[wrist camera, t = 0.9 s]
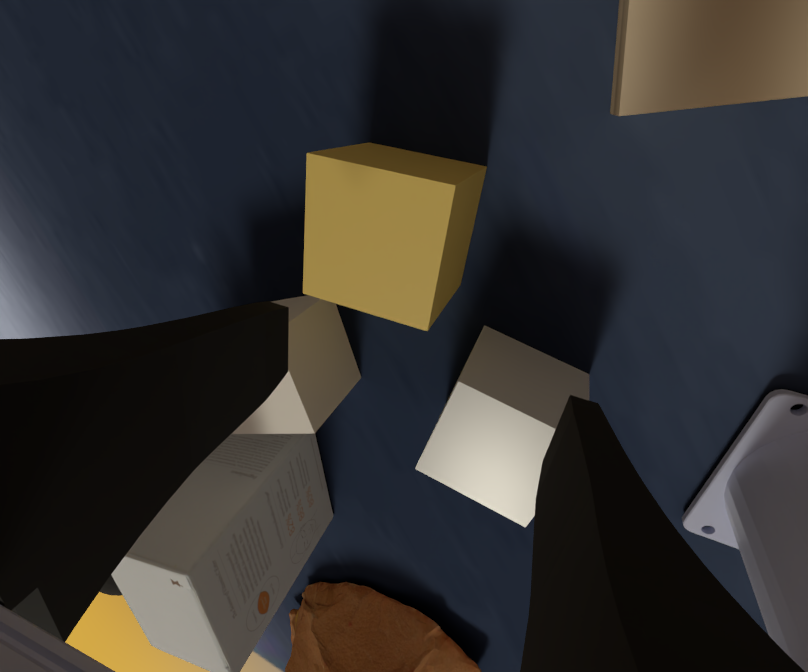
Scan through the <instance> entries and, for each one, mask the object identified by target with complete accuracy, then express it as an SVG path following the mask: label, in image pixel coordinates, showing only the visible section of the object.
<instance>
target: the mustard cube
mask: <svg viewBox="0 0 808 672" xmlns="http://www.w3.org/2000/svg"><path fill="white" fill-rule="evenodd" d="M486 168H487V167H486V166H482V165H477V164H472V163H467V162H462V161H457V160H452V159H447V158H443V157H438V156H433V155H428V154H423V153H418V152H413V151H409V150H404V149H399V148H394V147H389V146H384V145H379V144H374V143H370V142H369V143H363V144H357V145H351V146H345V147H339V148H333V149H327V150H321V151H315V152H309V153H307V165H306V199H305V233H304V268H303V294H306V295H310V296H313V297H316V298H319V299H323V300H326V301H329V302H333V303H336V304H339V305H343V306H346V307H349V308H352V309H356V310H359V311H362V312H366V313H369V314H372V315H375V316H379V317H382V318H385V319H389V320H392V321H395V322H398V323H402V324H405V325H408V326H412V327H415V328H418V329H422V330H425V331H428V330H429V328H430V327H431V326H432V324H433V323H434V321H435V320H436V318H437V317H438V316H439V314H440V313H441V311H442V310H443V309H444V307H445V306H446V304H447V303H448V301H449V300H450V299H451V297H452V296H453V294H454V293H455V292H456V290H457V289H458V287H459V286H460V285H461V280H462V276H463V271H464V267H465V262H466V258H467V253H468V249H469V244H470V240H471V235H472V231H473V226H474V222H475V218H476V213H477V209H478V204H479V200H480V195H481V191H482V186H483V182H484V177H485V173H486Z"/></svg>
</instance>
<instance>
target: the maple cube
mask: <svg viewBox="0 0 808 672" xmlns="http://www.w3.org/2000/svg"><path fill="white" fill-rule="evenodd" d="M803 96H808V0H619V12H618V25H617V37H616V49H615V61H614V73H613V86H612V98H611V110H610V114H613V115H617V116H625V115H635V114H644V113H653V112H663V111H672V110H681V109H691V108H700V107H710V106H719V105H728V104H738V103H747V102H756V101H766V100H775V99H785V98H794V97H803Z"/></svg>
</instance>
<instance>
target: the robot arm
mask: <svg viewBox="0 0 808 672" xmlns="http://www.w3.org/2000/svg"><path fill="white" fill-rule="evenodd" d="M288 335H289V307H286V306H283V305H280V304H276V303H273V302H270V301H266V302H258V303H252V304H247V305H242V306H237V307H232V308H228V309H224V310H219V311H215V312H210V313H206V314H202V315H197V316H193V317H188V318H184V319H179V320H174V321H168V322H163V323H158V324H153V325H148V326H143V327H137V328H131V329H124V330H118V331H110V332H102V333H94V334H84V335H72V336H58V337H44V338H29V339H0V672H115V671H113V670H111V669H110V668H108V667H106V666H104V665H103V664H101V663H99V662H98V661H96V660H94V659H92V658H91V657H89V656H87V655H86V654H84V653H82V652H80V651H79V650H77V649H75V648H74V647H72V646H70V645H69V644H66V643H65V641H66V640H67V638H68V636H69V635H70V633H71V632H72V630H73V629H74V627H75V626H76V624H77V623H78V621H79V620H80V619H81V617H82V616H83V614H84V613H85V611H86V610H87V608H88V607H89V606H90V604H91V602H92V601H93V600H94V598H95V597H96V595H97V594H98V593H99V591H100V590H101V588H102V587H103V585H104V584H105V582H106V581H107V580H108V578H109V577H110V575H111V574H112V573H113V571H114V570H115V569H116V567H117V566H118V565H119V563H120V562H121V561H122V559H123V558H124V557H125V555H126V554H127V553H128V551H129V550H130V549H131V547H132V546H133V545H134V543H135V542H136V541H137V539H138V538H139V537H140V535H141V534H142V533H143V531H144V530H145V529H146V528H147V526H148V525H149V524H150V523H151V521H152V520H153V519H154V518H155V516H156V515H157V514H158V513H159V511H160V510H161V509H162V508H163V506H164V505H165V504H166V503H167V502H168V500H169V499H170V498H171V497H172V496H173V494H174V493H175V492H176V491H177V490H178V489H179V487H180V486H181V485H182V484H183V483H184V482H185V480H186V479H187V478H188V477H189V476H190V474H191V473H192V472H193V471H194V470H195V469H196V468H197V467H198V466H199V465H200V464H201V463H202V462H203V461H204V460H205V459H206V458H207V457H208V456H209V455H210V454H211V453H212V452H213V451H214V450H215V449H216V448H217V447H218V446H219V445H220V444H221V443H222V442H223V441H224V440H225V439H226V438H228V437H229V436H230V435H231V434H232V433H233V432H234V431H235V430H236V429H237V428H238V427H239V426H240V425H241V424H242V423H243V422H244V421H245V420H246V419H247V418H248V417H249V416H251V415H252V414H253V413H254V412H255V411H256V410H257V409H258V408H259V407H260V406H261V405H262V404H263V403H264V402H265V401H266V400H267V398H268V397H269V396H270V395H271V394H272V392H273V391H274V390H275V389H276V387H277V386H278V385H279V383H280V382H281V381H282V379H283V378H284V377H285V375H286V374H287V373H288ZM796 404H803V407H801V408H800V409H797V410H792V409H790V408H791V407H792V406H793V405H796ZM682 521H683V525H684V527H685V528H686V529H687V530H688V531H690V532H693V533H696V534H698V535H701V536H704V537H707V538H709V539H712V540H715V541H718V542H720V543H723V544H726V545H729V546H732V547H734V548H737V549H739V550H740V553H741V556H742V559H743V562H744V564H745V567H746V570H747V573H748V576H749V579H750V582H751V585H752V588H753V591H754V594H755V596H756V599H757V602H758V605H759V608H760V611H761V614H762V617H763V620H764V623H765V626H766V628H767V631H768V634H769V635H768V634H767V633H766V632H765V631H764V630H763V629H762V628H761V627H760V626H759V625H758V624H757V623H756V622H755V621H754V620H753V619H752V618H751V616H750V615H749V614H748V613H747V612H746V611H745V610H744V609H743V608H742V607H741V606H740V604H739V603H738V602H737V601H736V600H735V599H734V598H733V597H732V596H731V595H730V594H729V592H728V591H727V590H726V589H725V588H724V587H723V586H722V585H721V584H720V582H719V581H718V580H717V579H716V578H715V577H714V575H713V574H712V573H711V572H710V571H709V570H708V569H707V567H706V566H705V565H704V564H703V563H702V561H701V560H700V559H699V558H698V556H697V555H696V554H695V553H694V551H693V550H692V549H691V548H690V546H689V545H688V544H687V543H686V541H685V540H684V539H683V538H682V536H681V535H680V534H679V533H678V531H677V530H676V529H675V527H674V526H673V525H672V523H671V522H670V521H669V519H668V518H667V516H666V515H665V514H664V512H663V511H662V509H661V508H660V506H659V505H658V503H657V502H656V500H655V499H654V498H653V496H652V495H651V493H650V492H649V490H648V489H647V487H646V486H645V484H644V483H643V481H642V479H641V478H640V476H639V475H638V473H637V472H636V470H635V468H634V467H633V465H632V463H631V462H630V460H629V458H628V457H627V455H626V453H625V451H624V450H623V448H622V446H621V444H620V442H619V441H618V439H617V437H616V435H615V433H614V431H613V430H612V428H611V426H610V424H609V422H608V420H607V419H606V417H605V415H604V413H603V411H602V409H601V407H600V406H599V404H598V403H595V402H592V401H589V400H585V399H582V398H579V397H576V396H573V395H570V396H569V398H568V401H567V403H566V406H565V408H564V411H563V413H562V415H561V418H560V420H559V423H558V425H557V427H556V430H555V432H554V435H553V437H552V439H551V442H550V444H549V447H548V449H547V452H546V454H545V456H544V459H543V462H542V467H541V473H540V478H539V483H538V489H537V495H536V503H535V521H534V540H533V560H532V580H531V597H530V608H529V618H528V624H527V631H526V638H525V644H524V651H523V657H522V664H521V670H520V672H808V395H804V394H801V393H797V392H793V391H790V390H784V389H779V390H774V391H772V392H770V393H769V394H768V395H766V397H765V398H764V399H763V401H762V402H761V404H760V405H759V407H758V408H757V409H756V411H755V412H754V414H753V415H752V417H751V418H750V420H749V421H748V422H747V424H746V425H745V427H744V428H743V430H742V431H741V433H740V434H739V435H738V437H737V438H736V440H735V441H734V443H733V444H732V445H731V447H730V448H729V450H728V451H727V453H726V454H725V456H724V457H723V458H722V460H721V461H720V463H719V464H718V466H717V467H716V468H715V470H714V471H713V473H712V474H711V476H710V477H709V479H708V480H707V481H706V483H705V484H704V486H703V487H702V489H701V490H700V492H699V493H698V494H697V496H696V497H695V499H694V500H693V502H692V503H691V504H690V506H689V507H688V509H687V510H686V512H685V513H684V515H683V517H682ZM707 525H708V526H711V527H703V526H707Z"/></svg>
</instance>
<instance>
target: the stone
mask: <svg viewBox="0 0 808 672" xmlns="http://www.w3.org/2000/svg"><path fill="white" fill-rule="evenodd" d="M302 597H303V600H302V603H301V607H300V608H299V610H297V609H292V610H291V611H290V613H289V616H290V619H291V621H290V625H291V631H292V634H291V641H292V644H293V646H292V653H291V657H290V659H289V661H288V664H287V666H286V668H285V672H481V669H480V668H479V667H478V665H477V664H476V663H475V662H474V661H473V660H471V659H470V658H469V657H468V656H467V655H466V654H465V653H464V652H463V650H462V649H461V648H460V647H459V646H458V645H457V644H456V643H455V642H454V641H453V640H452V639H451V638H450V637H448V636H447V635H446V634H445V633H444V632H443V631H442V630H441V628H440V626H439V625H438V624H437V623H436V622H434V621H433V620H432V619H430V618H429V617H427V616H426V615H424V614H423V613H421V612H420V611H418V610H416V609H414V608H412V607H410V606H406V605H404V604H402V603H400V602H398V601H397V600H394V599H392V598H389V597H387V596H385V595H383V594H381V593H379V592H377V591H375V590H373V589H371V588H369V587H366V586H363V585H362V586H359V585H356V584H353V583H348V582H343V583H339V584H330V583H326V582H317V583H314V584H311V585H308V586H307V587H306V588H305V592H303V593H302Z"/></svg>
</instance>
